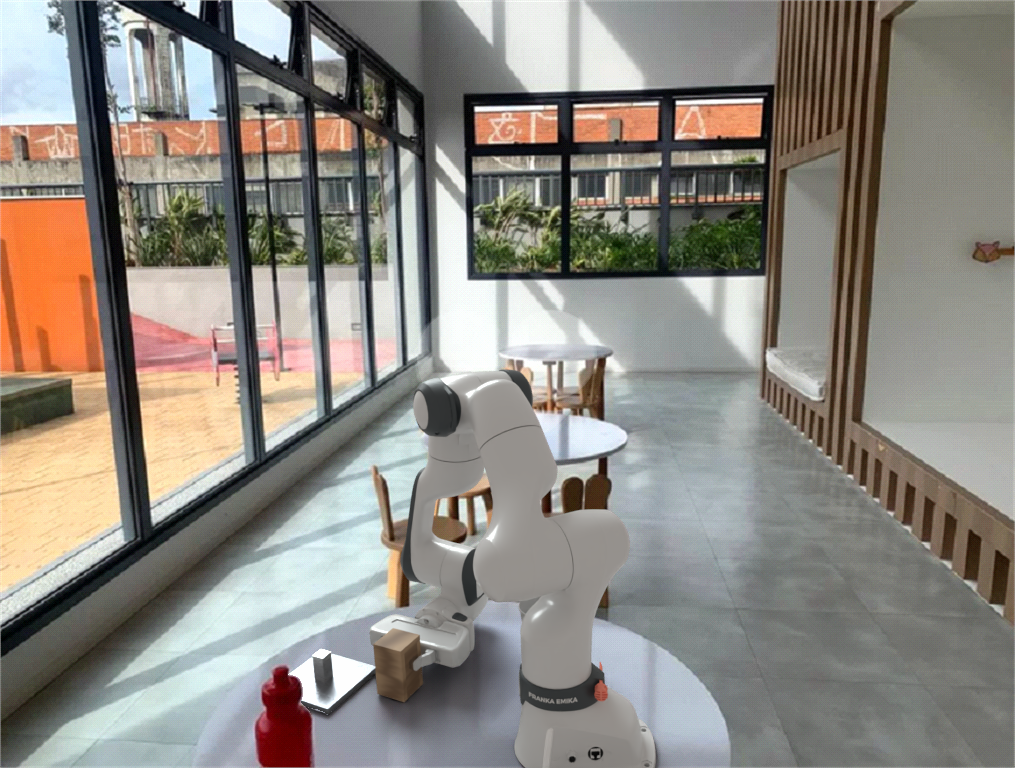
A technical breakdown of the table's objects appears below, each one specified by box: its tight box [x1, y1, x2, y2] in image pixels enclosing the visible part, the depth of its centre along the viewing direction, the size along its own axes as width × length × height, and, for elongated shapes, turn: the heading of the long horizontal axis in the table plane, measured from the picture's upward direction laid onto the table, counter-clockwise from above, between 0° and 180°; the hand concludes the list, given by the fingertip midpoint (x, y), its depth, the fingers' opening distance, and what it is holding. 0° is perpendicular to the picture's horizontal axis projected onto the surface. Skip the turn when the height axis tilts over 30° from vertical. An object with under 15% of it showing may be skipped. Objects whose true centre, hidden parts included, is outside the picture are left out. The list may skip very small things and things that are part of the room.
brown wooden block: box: [372, 628, 424, 703], centre depth 131 cm, size 6×6×10 cm
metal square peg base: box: [289, 648, 376, 715], centre depth 134 cm, size 14×14×6 cm
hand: (395, 661), depth 130 cm, fingers closed on brown wooden block, 6 cm apart
